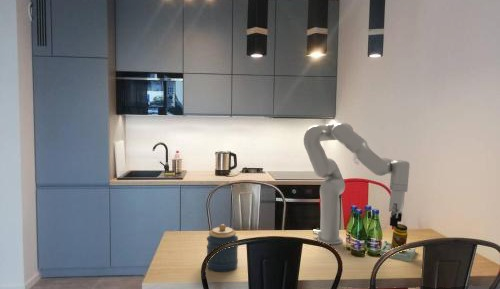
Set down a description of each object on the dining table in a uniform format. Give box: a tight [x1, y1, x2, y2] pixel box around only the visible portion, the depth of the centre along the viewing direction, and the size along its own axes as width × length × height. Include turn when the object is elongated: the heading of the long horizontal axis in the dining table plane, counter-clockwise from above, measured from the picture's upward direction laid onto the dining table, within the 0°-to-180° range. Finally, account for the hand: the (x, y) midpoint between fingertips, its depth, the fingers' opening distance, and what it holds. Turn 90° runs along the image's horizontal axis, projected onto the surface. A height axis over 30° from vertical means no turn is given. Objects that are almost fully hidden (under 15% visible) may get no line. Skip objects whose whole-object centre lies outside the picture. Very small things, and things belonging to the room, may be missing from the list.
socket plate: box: [379, 240, 416, 262], centre depth 162 cm, size 14×14×3 cm
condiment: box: [385, 223, 409, 254], centre depth 161 cm, size 7×8×12 cm
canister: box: [206, 223, 239, 273], centre depth 145 cm, size 13×13×18 cm
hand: (395, 223), depth 162 cm, fingers open, 9 cm apart
